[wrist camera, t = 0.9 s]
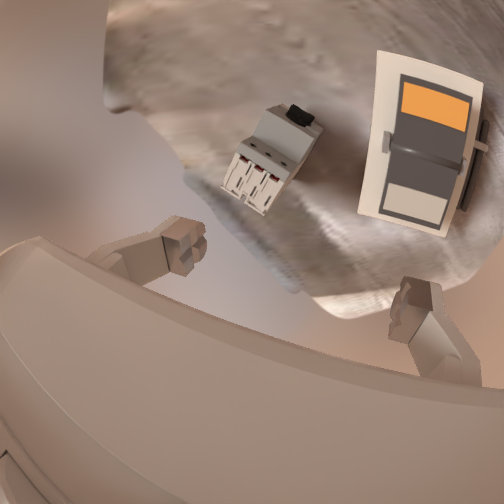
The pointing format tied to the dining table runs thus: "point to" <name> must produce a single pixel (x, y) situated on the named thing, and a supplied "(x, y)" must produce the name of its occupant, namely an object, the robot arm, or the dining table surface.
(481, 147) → the dark grey piece
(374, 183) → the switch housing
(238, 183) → the circuit breaker
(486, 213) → the dining table surface
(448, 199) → the block
